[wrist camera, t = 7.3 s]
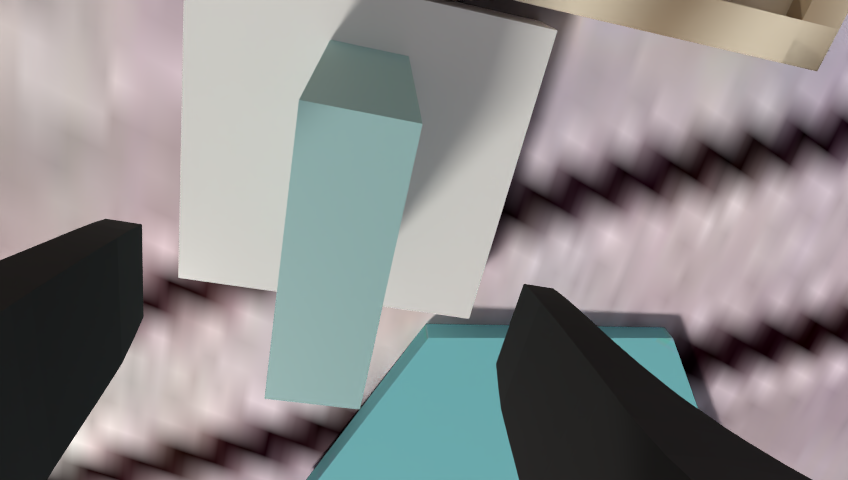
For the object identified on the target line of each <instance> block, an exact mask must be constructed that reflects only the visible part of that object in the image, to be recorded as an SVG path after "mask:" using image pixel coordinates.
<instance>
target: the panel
mask: <svg viewBox="0 0 848 480" xmlns="http://www.w3.org/2000/svg"><path fill="white" fill-rule="evenodd" d="M422 124H423V123H422V119H421V114H420V109H419V104H418V99H417V94H416V89H415V84H414V79H413V75H412V70H411V65H410V60H409V56H405V55H401V54H396V53H391V52H387V51H382V50H377V49H372V48H368V47H363V46H358V45H354V44H349V43H344V42H340V41H335V40H330V41H329V43H328V45H327V47H326V49H325V51H324V53H323V54H322V56H321V58H320V60H319V62H318V64H317V66H316V68H315V70H314V72H313V74H312V76H311V78H310V79H309V81H308V83H307V85H306V87H305V89H304V91H303V93H302V95H301V97H300V99H299V104H298V112H297V121H296V130H295V138H294V147H293V156H292V165H291V173H290V182H289V191H288V199H287V208H286V217H285V225H284V234H283V243H282V252H281V260H280V269H279V278H278V286H277V295H276V304H275V312H274V321H273V330H272V339H271V347H270V356H269V365H268V373H267V382H266V391H265V399H273V400H282V401H290V402H299V403H308V404H317V405H326V406H335V407H343V408H352V409H360V406H361V402H362V397H363V393H364V388H365V384H366V379H367V375H368V370H369V365H370V361H371V356H372V352H373V347H374V343H375V338H376V334H377V329H378V325H379V320H380V315H381V311H382V306H383V302H384V297H385V293H386V288H387V284H388V279H389V274H390V270H391V265H392V261H393V256H394V252H395V247H396V243H397V238H398V234H399V229H400V224H401V220H402V215H403V211H404V206H405V202H406V197H407V193H408V188H409V183H410V179H411V174H412V170H413V165H414V161H415V156H416V152H417V147H418V142H419V138H420V133H421V129H422Z"/></svg>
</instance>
